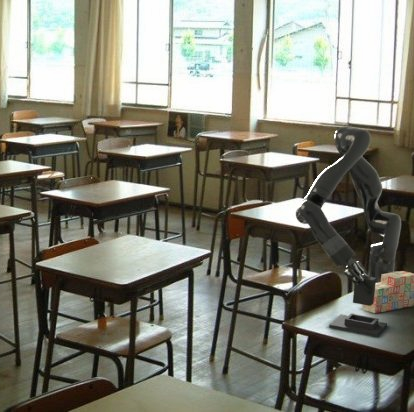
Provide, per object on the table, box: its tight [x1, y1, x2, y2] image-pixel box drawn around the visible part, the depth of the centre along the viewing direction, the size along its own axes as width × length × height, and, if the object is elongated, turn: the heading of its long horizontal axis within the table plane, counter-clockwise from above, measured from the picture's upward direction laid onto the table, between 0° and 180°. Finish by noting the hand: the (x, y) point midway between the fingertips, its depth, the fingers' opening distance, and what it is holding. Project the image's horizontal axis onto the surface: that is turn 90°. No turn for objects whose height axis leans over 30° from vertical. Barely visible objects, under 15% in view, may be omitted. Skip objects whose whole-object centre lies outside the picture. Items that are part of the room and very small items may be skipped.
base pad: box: [328, 313, 388, 338], centre depth 299 cm, size 14×16×3 cm
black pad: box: [352, 275, 376, 306], centre depth 296 cm, size 4×6×9 cm, turn 57°
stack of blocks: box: [361, 270, 414, 314], centre depth 321 cm, size 21×6×12 cm, turn 121°
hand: (370, 289), depth 295 cm, fingers closed on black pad, 4 cm apart
